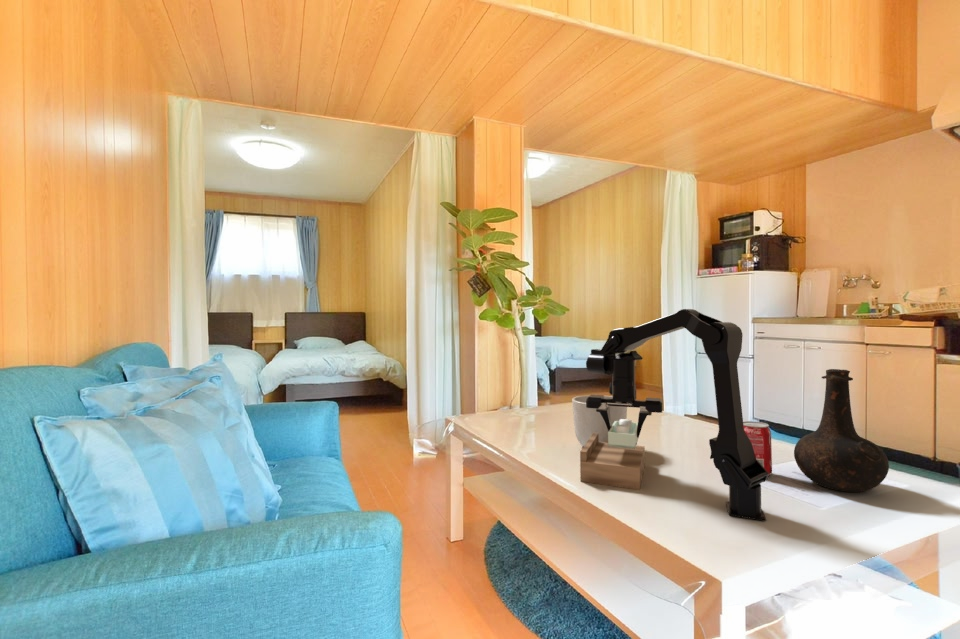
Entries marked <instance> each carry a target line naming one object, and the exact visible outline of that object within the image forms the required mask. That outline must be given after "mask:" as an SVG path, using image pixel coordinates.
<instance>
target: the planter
mask: <svg viewBox="0 0 960 639" xmlns="http://www.w3.org/2000/svg"><path fill="white" fill-rule="evenodd" d="M590 395H591V394H590ZM590 395H577V396H575V397H572V399H571V402H572V403H571V404H572V415H573V427H574V429H573V430H574V434H575V438H576V440H577V441H578V442H579V444H580V445H581V446H582V447H584V445H585V444H586V443H587V441H588V440H589V438H590V437H591V435H592V434H593V433H599V442H606V443H608V432H609V431H608V429H607V426H606V424H605V421H604V419H603V417H602V416H601V414H600V412H596V408H586V399H587V398H588V397H589V396H590ZM604 398H605V399H613V396H612V395H604ZM608 407H610V416H611V424H612V425H613V423H614V421H619V420H620V419H628V418H627V416H628V407H621V406H608Z"/></svg>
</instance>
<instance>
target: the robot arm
mask: <svg viewBox="0 0 960 639" xmlns="http://www.w3.org/2000/svg"><path fill="white" fill-rule="evenodd" d="M682 329H683V330H684V329H685V330H686V331H688V332H689V333H690V334H691V335H693V336H694V337H696V338H698V339H699V340H701V343H702V345H703V350H704V353H705V354H706V356H707V358H708V359H709V361H710V363H711V366H712V374H713V375H712V376H713V382H714V383H713V384H714V393H715V394H714V396H715V403H716V413H717V424H718V432H717V435H716V437H712V438H710V439H709V441H708V442H709V443H708V444H709V447H710V448H709V449H710V456H709V459H710V460H713V466H715V467H714V468H716V469H717V470H718V471H719V473H720V477H721V480H722V483H723V484H724V485H725V486H728V487H729V488H728V490H729V491H728V493H729V494H728V496H729V497H728V498H729V501H725V506H726V509H727V513H728V515H729V516H731V517H736V518H737V517H738V518H743V519H750V520H757V521H763V522H766V520H767V517H766V516H765V512H764V510H763V509H762V483H764V482H766V481H767V479H768V477H769V476H768V475H769V473H768V472H767V471H766V469H765V468H764V467H763V466H762V465H761V464H760V463H759V462H758V461H757V459H756V457H755V453H754V450H753V446H752V443H751V441H750V439H749V438H748V436H747V434H746V433H745V431H744V426H743V422H744V418H743V408H742V400H741V398H742V397H741V388H740V381H739V372H738V360H739V357H740V355H741V353H742V346H743V332H742V331H743V330H742V328H740V327H739V326H738V325H737V324H736V323H733V322H731V321H729V322H728V321H726V322H725V321H724V322H723V321H721V320H719V319H716V318H714V317H712V316H709V315H706V314H703V313H702V312H699V311H698V310H696V309H692V308H683V309H679V310H678V311H675V312H673V313H671V314H668V315H665V316H662V317H660V318H657V319H654V320H651V321H648V322H645V323H643V324H640V325H637V326H630V327H622V328H621V327H620V328H615V329H614V328H613V329H612V330H611V331H609V334H608V337H607V338H606V341H605V342H604V344H603V346H602V347H601V349H600V348H599V349H598V348H594V349H593V348H592V349H591V350H590V354H589V355H588V357H587V359H586V362H585V365H586V366H585V367H586V370H587V371H588V372H589V373H591V374H594V375H595V374H596V375H597V374H598V375H606V376H610V375H612V377H611V378H612V379H611V381H612V382H609V387H608V388H609V390H608V393H609V396H613V399H605V398H604V396H605V395H604V394H590V396H589V397H588V398H587V399H586V408H596V412H600V414H601V416H602V417H603V419H604V421H605V424H606V426H607V429H608V431H609V430H610V428H611V427H612V424H611V416H610V407H608V406H621V407H627V408H637V409H639V412H638V420H637V423H638V426H637V438H638V439H639V438H640V435H641V432H642V428H643V425H644V423H645V421H646V419H647V417H648V416H652V414H653V413H657V414H658V413H659V414H660V413H663V411H664V410H663V409H664V408H663V399H662V398H661V397H659V398H658V397H646V398H645V400H640V399H639V400H637V388H636V361H641V360H643V359H644V358H643V356H642V355H640V354H639V353H638V352H637V350H635V349H637V348H639V347H641V346H643V345H644V344H645V343H646V342H648V341H649V340H653V339H655V338H658V337H661V336H665V335H667V334H671V333H673V332H677V331H680V330H682ZM628 351H629V352H628ZM627 352H628V353H627ZM616 354H617V355H616Z"/></svg>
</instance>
